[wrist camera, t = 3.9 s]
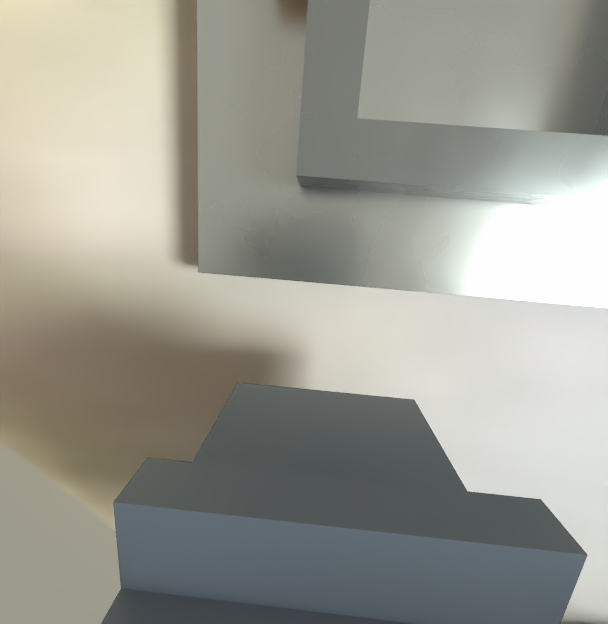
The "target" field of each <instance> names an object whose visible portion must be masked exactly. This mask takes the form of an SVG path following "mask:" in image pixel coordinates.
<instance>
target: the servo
mask: <svg viewBox="0 0 608 624" xmlns="http://www.w3.org/2000/svg"><path fill="white" fill-rule="evenodd" d="M113 504H114V515H115V526H116V537H117V547H118V559H119V570H120V581H121V590H120V591H119V593H118V595H117V597H116V598H115V600H114V602H113V604H112V606H111V608H110V609H109V611H108V613H107V614H106V616H105V618H104V620H103V621H102V623H101V624H560V623H561V620H562V618H563V615H564V613H565V610H566V608H567V605H568V603H569V600H570V598H571V595H572V593H573V590H574V588H575V585H576V583H577V580H578V577H579V575H580V572H581V570H582V567H583V565H584V562H585V560H586V557H587V554H586V553H585V551H584V550H583V549H582V548H581V547H580V545H579V544H578V543H577V542H576V541H575V540H574V538H573V537H572V536H571V535H570V534H569V532H568V531H567V530H566V529H565V528H564V526H563V525H562V524H561V523H560V522H559V521H558V519H557V518H556V517H555V516H554V515H553V513H552V512H551V511H550V510H549V509H548V507H547V506H546V505H545V504H544V503H543V502H542V500H541V499H533V498H523V497H514V496H504V495H495V494H486V493H476V492H467V490H466V488H465V487H464V485H463V483H462V481H461V480H460V478H459V476H458V475H457V473H456V471H455V469H454V468H453V466H452V464H451V462H450V461H449V459H448V457H447V456H446V454H445V452H444V450H443V449H442V447H441V445H440V443H439V442H438V440H437V438H436V437H435V435H434V433H433V431H432V430H431V428H430V426H429V424H428V423H427V421H426V419H425V418H424V416H423V414H422V412H421V411H420V409H419V407H418V405H417V404H416V402H415V400H412V399H401V398H391V397H381V396H371V395H360V394H350V393H340V392H329V391H319V390H309V389H299V388H288V387H278V386H268V385H258V384H247V383H237V385H236V387H235V388H234V390H233V392H232V394H231V395H230V397H229V399H228V401H227V403H226V404H225V406H224V408H223V410H222V411H221V413H220V415H219V417H218V418H217V420H216V422H215V424H214V425H213V427H212V429H211V431H210V433H209V434H208V436H207V438H206V440H205V441H204V443H203V445H202V447H201V448H200V450H199V452H198V454H197V455H196V457H195V459H194V461H193V462H184V461H175V460H165V459H156V458H147V460H146V461H145V462H144V464H143V465H142V466H141V467H140V469H139V470H138V471H137V473H136V474H135V475H134V476H133V478H132V479H131V480H130V482H129V483H128V484H127V485H126V487H125V488H124V489H123V490H122V492H121V493H120V494H119V496H118V497H117V498H116V499H115V501H114V502H113Z"/></svg>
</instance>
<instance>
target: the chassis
mask: <svg viewBox="0 0 608 624" xmlns="http://www.w3.org/2000/svg"><path fill="white" fill-rule="evenodd" d="M197 132H198V272H201V273H212V274H224V275H235V276H247V277H258V278H270V279H281V280H293V281H304V282H316V283H327V284H339V285H350V286H362V287H374V288H385V289H397V290H408V291H420V292H431V293H443V294H454V295H466V296H477V297H489V298H500V299H512V300H523V301H535V302H546V303H558V304H570V305H581V306H593V307H604V308H608V0H197Z"/></svg>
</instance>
